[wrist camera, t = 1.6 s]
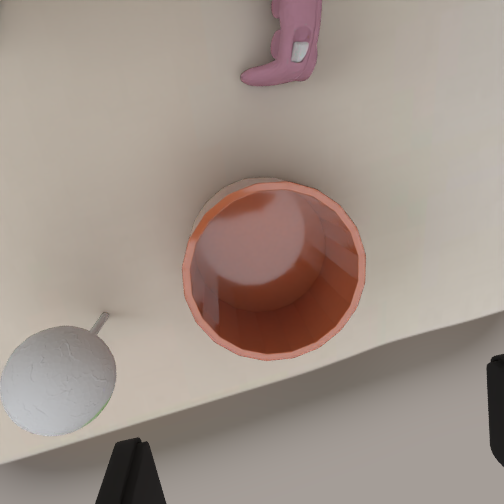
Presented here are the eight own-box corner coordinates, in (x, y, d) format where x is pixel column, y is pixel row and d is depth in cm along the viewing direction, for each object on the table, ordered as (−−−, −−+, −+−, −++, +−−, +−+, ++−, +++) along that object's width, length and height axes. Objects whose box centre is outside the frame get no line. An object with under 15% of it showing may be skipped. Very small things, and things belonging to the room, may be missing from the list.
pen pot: (175, 298, 38) (164, 341, 29) (208, 160, 36) (207, 159, 27) (306, 326, 41) (334, 374, 31) (346, 197, 38) (390, 208, 29)
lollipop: (103, 363, 39) (39, 481, 25) (50, 311, 38) (-52, 407, 23) (157, 319, 39) (125, 414, 24) (106, 265, 37) (38, 332, 23)
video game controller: (278, 93, 37) (330, 80, 31) (235, 87, 34) (284, 72, 29) (280, -27, 35) (337, -65, 29) (235, -42, 32) (288, -86, 26)
